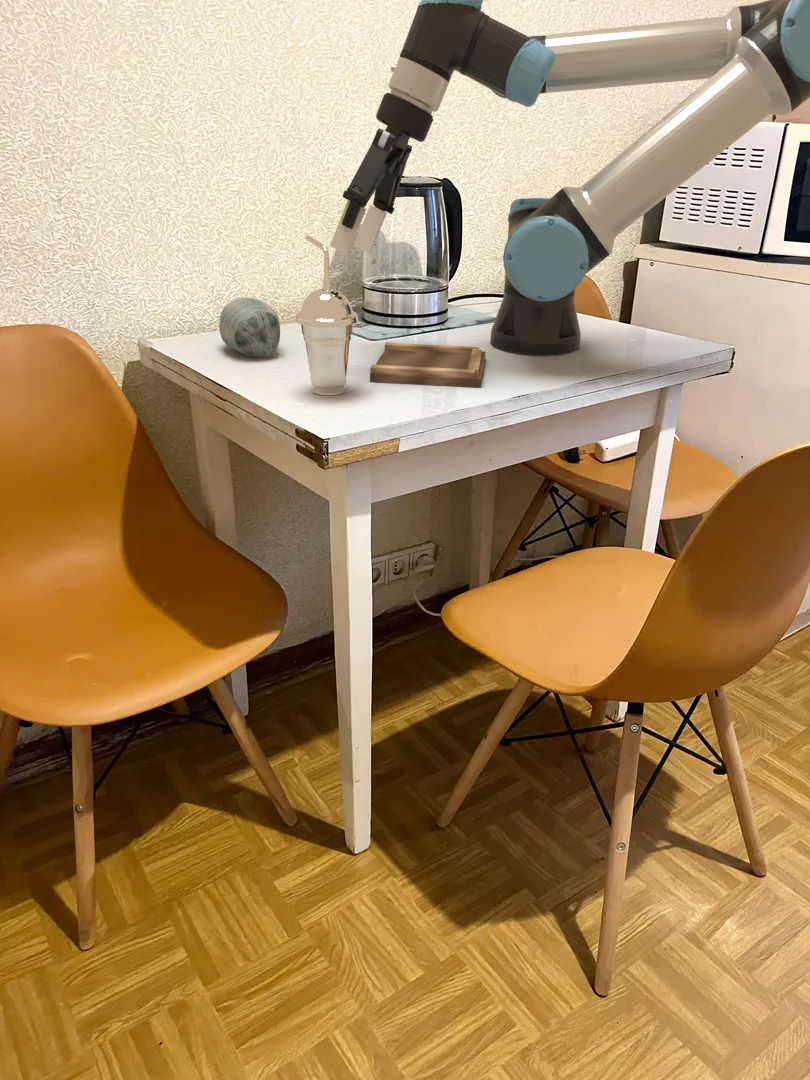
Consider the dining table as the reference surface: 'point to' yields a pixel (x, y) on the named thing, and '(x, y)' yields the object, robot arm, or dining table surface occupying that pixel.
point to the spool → (250, 327)
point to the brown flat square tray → (429, 365)
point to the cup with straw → (327, 333)
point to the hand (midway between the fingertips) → (350, 250)
